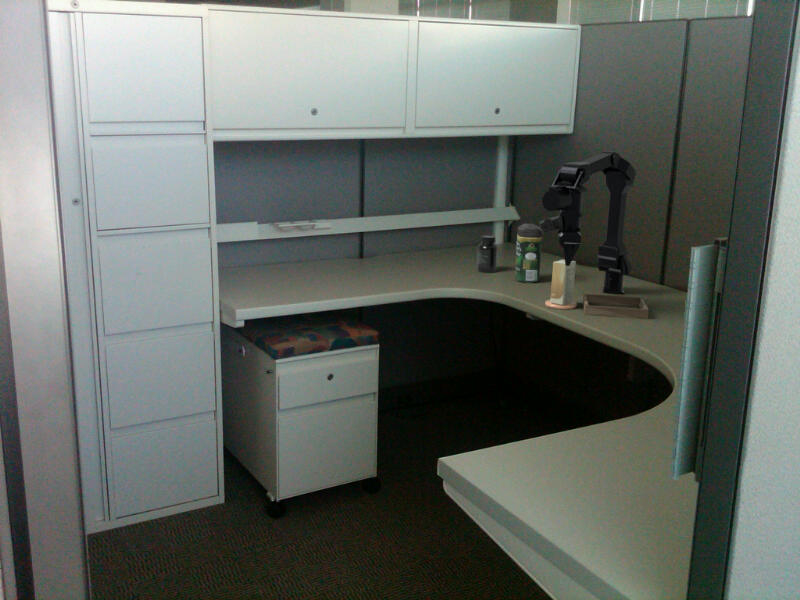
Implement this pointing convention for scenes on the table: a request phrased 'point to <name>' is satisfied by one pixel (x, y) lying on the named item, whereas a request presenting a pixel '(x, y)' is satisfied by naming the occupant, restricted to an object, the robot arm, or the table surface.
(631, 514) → the table surface
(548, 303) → the peach flat disc
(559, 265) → the skincare box
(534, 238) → the coffee jar
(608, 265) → the robot arm
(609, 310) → the brown wooden frame
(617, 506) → the table surface
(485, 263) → the supplement bottle
